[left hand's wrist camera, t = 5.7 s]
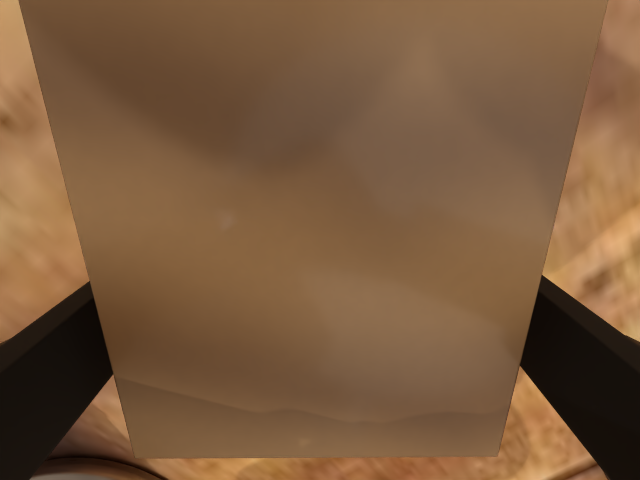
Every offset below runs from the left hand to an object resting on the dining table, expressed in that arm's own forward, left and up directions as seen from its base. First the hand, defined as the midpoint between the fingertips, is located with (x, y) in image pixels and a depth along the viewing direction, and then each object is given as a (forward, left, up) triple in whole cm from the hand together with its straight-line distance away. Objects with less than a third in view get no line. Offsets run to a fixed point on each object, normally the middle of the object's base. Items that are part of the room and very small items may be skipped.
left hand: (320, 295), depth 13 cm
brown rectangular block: (+6, -3, -6) cm, 8 cm away
